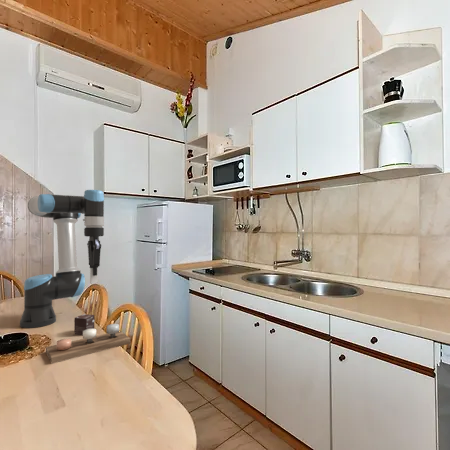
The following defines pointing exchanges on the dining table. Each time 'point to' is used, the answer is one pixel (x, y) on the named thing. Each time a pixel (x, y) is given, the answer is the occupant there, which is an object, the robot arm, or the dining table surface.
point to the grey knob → (112, 329)
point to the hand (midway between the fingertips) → (94, 282)
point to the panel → (87, 346)
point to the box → (83, 323)
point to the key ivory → (89, 334)
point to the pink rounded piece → (63, 344)
